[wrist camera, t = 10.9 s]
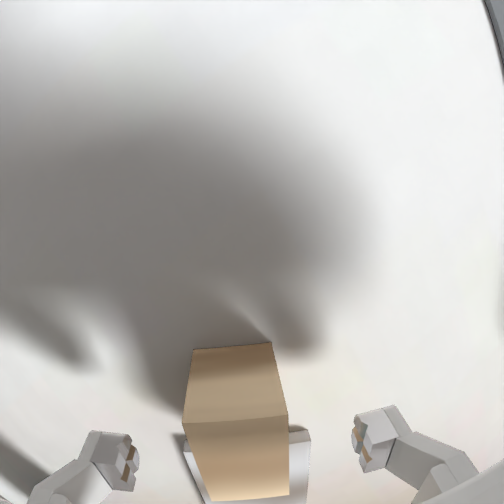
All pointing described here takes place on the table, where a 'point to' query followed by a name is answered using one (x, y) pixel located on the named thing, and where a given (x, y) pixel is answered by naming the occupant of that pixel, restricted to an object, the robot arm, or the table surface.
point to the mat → (497, 20)
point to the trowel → (242, 429)
